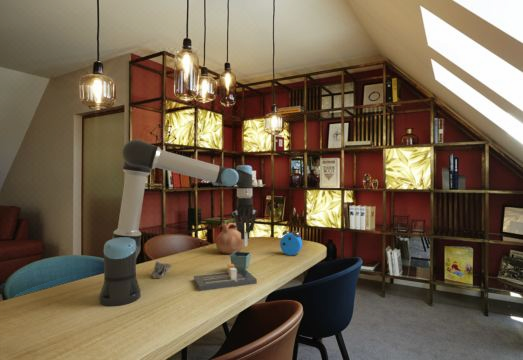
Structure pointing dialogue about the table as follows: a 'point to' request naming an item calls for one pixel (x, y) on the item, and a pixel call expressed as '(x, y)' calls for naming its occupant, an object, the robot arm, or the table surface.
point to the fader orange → (230, 267)
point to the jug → (229, 240)
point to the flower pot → (240, 260)
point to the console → (223, 280)
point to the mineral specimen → (160, 269)
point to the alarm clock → (291, 243)
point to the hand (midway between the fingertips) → (245, 245)
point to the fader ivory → (233, 273)
